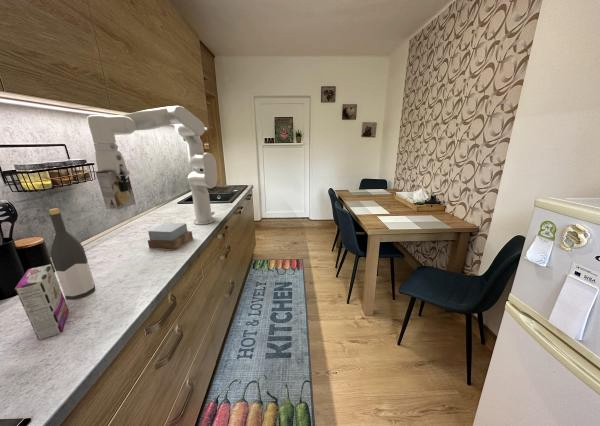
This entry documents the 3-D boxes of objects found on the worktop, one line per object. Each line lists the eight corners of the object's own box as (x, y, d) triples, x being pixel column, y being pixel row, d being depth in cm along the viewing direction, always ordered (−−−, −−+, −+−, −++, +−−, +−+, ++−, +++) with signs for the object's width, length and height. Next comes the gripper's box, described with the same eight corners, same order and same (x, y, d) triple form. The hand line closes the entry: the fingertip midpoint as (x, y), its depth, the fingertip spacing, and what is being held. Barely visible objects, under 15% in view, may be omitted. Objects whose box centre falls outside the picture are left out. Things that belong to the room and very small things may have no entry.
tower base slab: (169, 237, 130) (168, 229, 128) (193, 239, 127) (191, 231, 126) (149, 249, 117) (147, 240, 115) (175, 251, 114) (173, 242, 113)
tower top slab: (166, 230, 127) (164, 222, 126) (187, 231, 126) (186, 223, 124) (149, 239, 116) (148, 231, 115) (172, 240, 114) (171, 231, 113)
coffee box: (124, 203, 111) (115, 168, 106) (136, 204, 110) (127, 168, 105) (105, 209, 103) (94, 171, 98) (118, 210, 101) (107, 171, 96)
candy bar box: (47, 317, 71) (27, 268, 67) (69, 310, 74) (52, 263, 69) (36, 342, 63) (13, 287, 58) (62, 333, 65) (42, 280, 61)
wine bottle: (90, 283, 88) (65, 204, 79) (100, 290, 84) (75, 207, 75) (61, 295, 81) (30, 210, 73) (70, 303, 77) (39, 214, 69)
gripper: (132, 147, 100) (141, 189, 106) (98, 147, 104) (109, 188, 109) (115, 148, 93) (126, 193, 99) (79, 148, 97) (92, 192, 102)
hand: (117, 190), depth 104 cm, fingers closed on coffee box, 6 cm apart
